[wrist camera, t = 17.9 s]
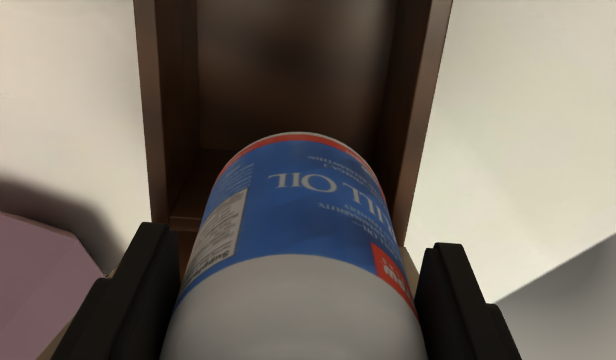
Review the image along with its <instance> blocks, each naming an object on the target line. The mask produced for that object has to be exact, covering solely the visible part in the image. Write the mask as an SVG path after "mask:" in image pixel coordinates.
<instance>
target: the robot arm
mask: <svg viewBox="0 0 616 360" xmlns="http://www.w3.org/2000/svg"><path fill="white" fill-rule="evenodd" d="M180 287H181V282H180V265H179V247H178V233H177V231H175V230H170V228H169V225H168V224H166V223H152V222H142V223H141V225H140V226H139V228H138V230H137V232H136V234H135V236H134V237H133V239H132V241H131V243H130V245H129V247H128V249H127V251H126V252H125V254H124V256H123V258H122V260H121V262H120V264H119V266H118V267H117V269H116V271H115V273H114V275H113V277H112V278H103V277H100V278H98V279H97V280H96V281H95V282H94V284H93V285H92V287H91V289H90V290H89V292H88V294H87V296H86V297H85V299H84V301H83V303H82V304H81V306H80V308H79V310H78V311H77V313H76V315H75V317H74V318H73V320H72V322H71V324H70V325H69V327H68V329H67V331H66V332H65V334H64V336H63V338H62V339H61V341H60V343H59V345H58V346H57V348H56V350H55V352H54V353H53V355H52V357H51V359H50V360H159V357H160V353H161V349H162V346H163V342H164V339H165V335H166V332H167V328H168V325H169V322H170V318H171V315H172V311H173V308H174V306H175V303H176V300H177V296H178V293H179V290H180ZM414 304H415V308H416V310H417V315H418V318H419V322H420V326H421V330H422V334H423V338H424V343H425V347H426V351H427V355H428V360H522V359H521V357H520V354H519V352H518V349H517V347H516V345H515V342H514V340H513V338H512V336H511V333H510V331H509V329H508V326H507V324H506V322H505V319H504V317H503V315H502V313H501V311H500V309H499V307H498V306H497V305H495V304H489V303H486V302H485V300H484V297H483V295H482V292H481V290H480V288H479V285H478V283H477V280H476V278H475V275H474V273H473V270H472V268H471V265H470V263H469V260H468V258H467V256H466V253H465V251H464V248H463V246H462V245H461V244H454V243H439V242H436V243H435V245H434V247H433V248H426V250H425V253H424V257H423V262H422V266H421V271H420V275H419V280H418V284H417V289H416V293H415V298H414Z"/></svg>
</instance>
